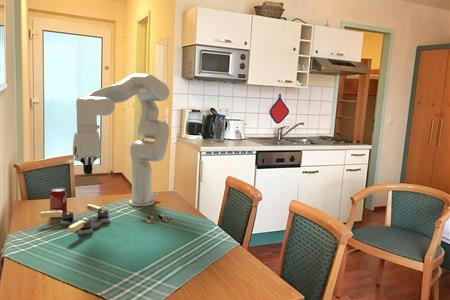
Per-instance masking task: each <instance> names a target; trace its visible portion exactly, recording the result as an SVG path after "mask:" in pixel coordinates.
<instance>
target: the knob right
mask: <svg viewBox="0 0 450 300" xmlns="http://www.w3.org/2000/svg"><path fill="white" fill-rule="evenodd" d="M38 216H39V217H40V218H41V219H43V218H45V219H46V218H53V217H61V219H62V220H63V221H70V220H73V218H74V212H72V211H67V212H64V213H63V212H62V211H50V210H47V211H40V212H39V214H38Z"/></svg>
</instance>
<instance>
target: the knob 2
mask: <svg viewBox="0 0 450 300" xmlns="http://www.w3.org/2000/svg"><path fill="white" fill-rule="evenodd" d="M85 207H86V209H87V210H88V211H91V212H94V213H95V214H97V216H98V218H100V219H104V218H108V216H109V210H108V209H102V207H101V206H97V205H95V204H90V203H89V204H87V205H86V206H85Z"/></svg>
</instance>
